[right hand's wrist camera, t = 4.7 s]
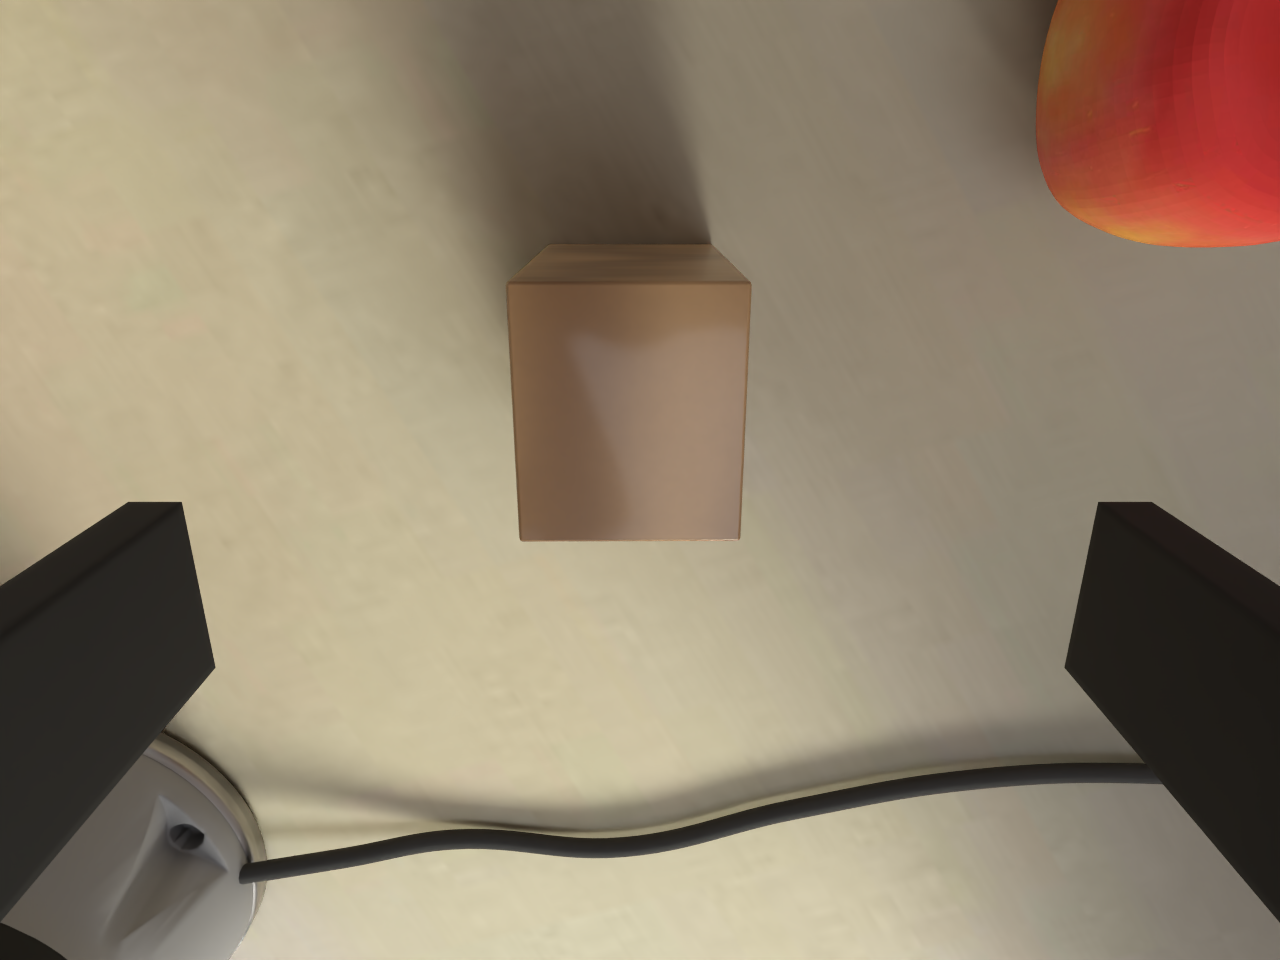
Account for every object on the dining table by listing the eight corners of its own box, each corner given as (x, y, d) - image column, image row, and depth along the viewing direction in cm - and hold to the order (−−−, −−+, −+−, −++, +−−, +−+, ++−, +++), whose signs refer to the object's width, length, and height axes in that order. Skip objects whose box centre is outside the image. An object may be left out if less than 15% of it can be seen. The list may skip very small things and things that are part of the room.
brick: (712, 243, 29) (752, 281, 20) (707, 427, 32) (740, 541, 22) (547, 243, 29) (505, 281, 20) (554, 427, 32) (519, 542, 22)
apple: (1144, 286, 30) (1377, 341, 21) (916, 159, 28) (1056, 155, 19) (1333, 10, 27) (1707, -73, 18) (1090, -148, 25) (1357, -333, 16)
